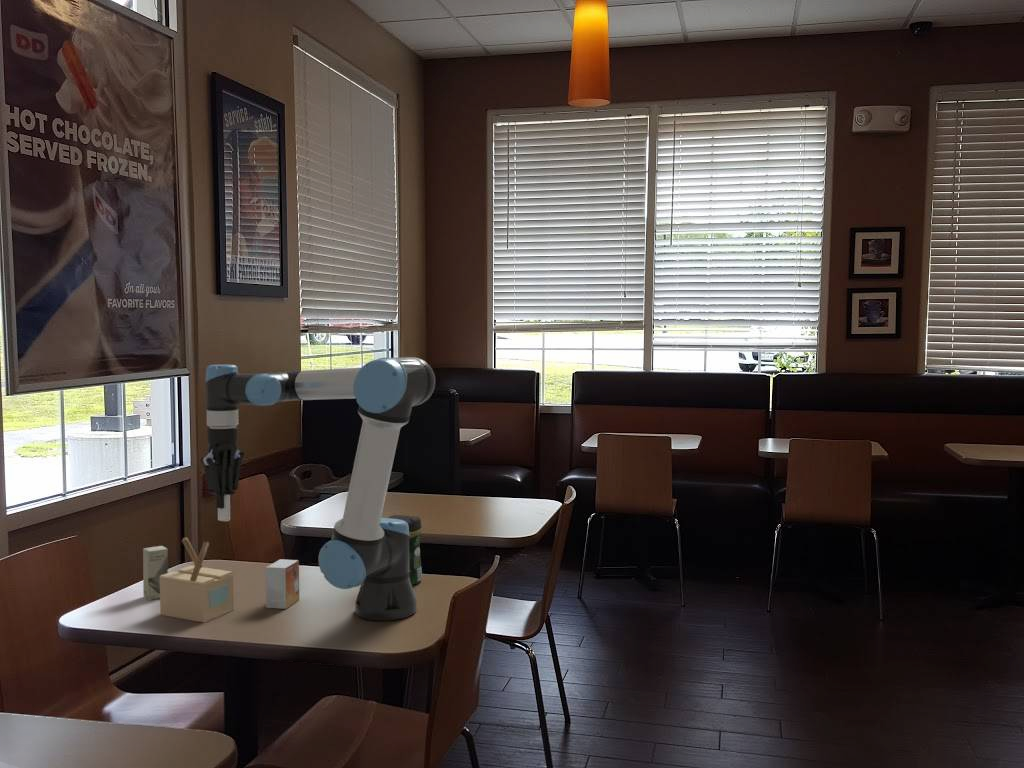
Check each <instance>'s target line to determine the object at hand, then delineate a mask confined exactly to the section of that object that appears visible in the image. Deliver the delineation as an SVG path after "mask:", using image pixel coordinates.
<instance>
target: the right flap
mask: <svg viewBox="0 0 1024 768" xmlns="http://www.w3.org/2000/svg"><path fill="white" fill-rule="evenodd" d="M181 543H182V544H183V546H184V547H185V549H186V551H187V553H188V555H189V556H190V558H191V560H192V562H193V564H194V565H188V566H185V567H182V568H179V569H178V572H183V573H189V574H192V573H193V570H194V567H195V564H196V562H197V559H198V555H197V552H195V549H194V548H193V545H192V544H191V542H190V540H189V538H188V537H183V538H181ZM231 574H233V571H229V570H224V569H216V568H210V567H204V566H203V565H202V566H201V568H200V571H199V574H198V575H202V576H209V577H215V578H223V577H226V576H228V575H231Z"/></svg>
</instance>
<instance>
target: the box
mask: <svg viewBox="0 0 1024 768" xmlns="http://www.w3.org/2000/svg"><path fill="white" fill-rule="evenodd" d="M142 557H143V558H142V560H143V561H142V564H143V565H142V566H143V569H142V577H143V578H142V579H143V581H142V582H143V585H142V586H143V589H142V590H143V597H144V598H145V599H147V600H149V601H150V600H151V601H152V600H156V599H160V576H161V575H164V574H167V573H169V570H168V569H169V568H168V567H169V566H168V565H169V564H168V563H169V562H168V560H169V559H168V557H169V556H168V548H167V547H165V546H163V545H158V546H151V547H144V548H142Z"/></svg>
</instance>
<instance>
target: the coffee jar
mask: <svg viewBox="0 0 1024 768" xmlns="http://www.w3.org/2000/svg"><path fill="white" fill-rule="evenodd" d="M387 518H392V519H400V520H404V521H406V522H407V523H408V526H409V534H410V537H409V578H410V582H411V585H412V586H413V585H417V584H419V583H420V582H421V581H422V579H423V574H422V573H423V571H422V561H421V560H422V559H421V547H420V545H421V543H420V541H421V534H422V531H423V527H422V521H421V518H420V516H415V515H406V514H405V515H404V514H392V515H390V516H388V517H387Z"/></svg>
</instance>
